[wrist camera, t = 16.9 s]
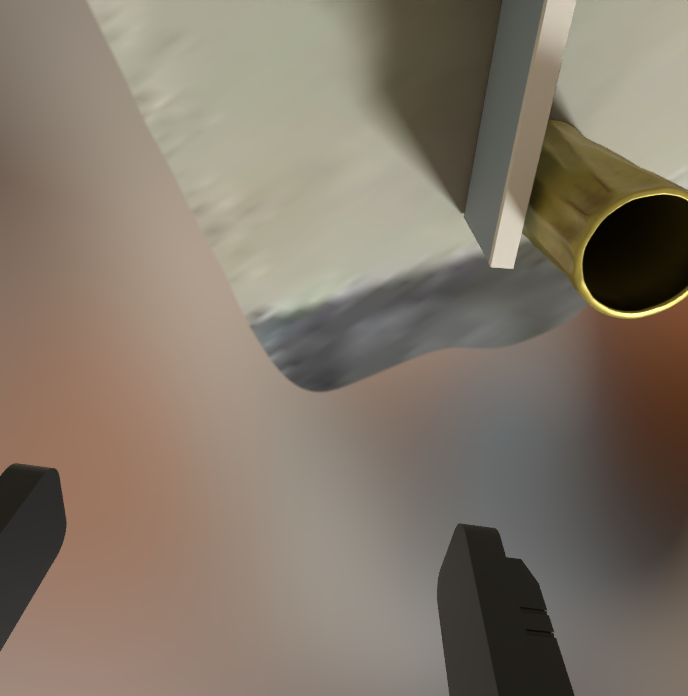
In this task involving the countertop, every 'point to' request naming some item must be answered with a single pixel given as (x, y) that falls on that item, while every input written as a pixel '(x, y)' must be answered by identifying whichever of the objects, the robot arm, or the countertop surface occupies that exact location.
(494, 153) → the grey flat panel
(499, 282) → the countertop surface
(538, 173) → the vase
